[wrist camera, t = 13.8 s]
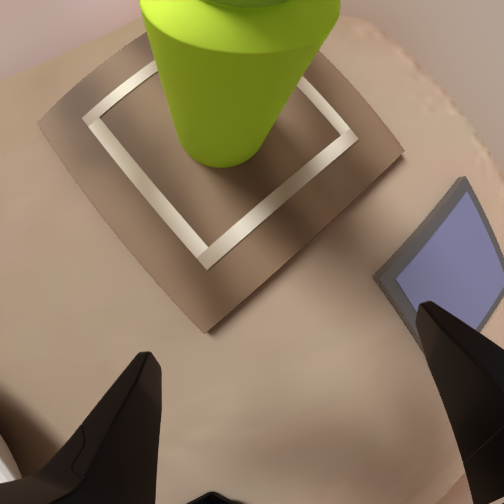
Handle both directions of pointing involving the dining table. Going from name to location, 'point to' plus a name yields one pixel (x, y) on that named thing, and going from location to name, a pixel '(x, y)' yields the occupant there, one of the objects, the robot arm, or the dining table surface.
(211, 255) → the board
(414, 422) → the dining table surface
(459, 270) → the ink pad
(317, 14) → the soap dispenser
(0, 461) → the soup bowl
